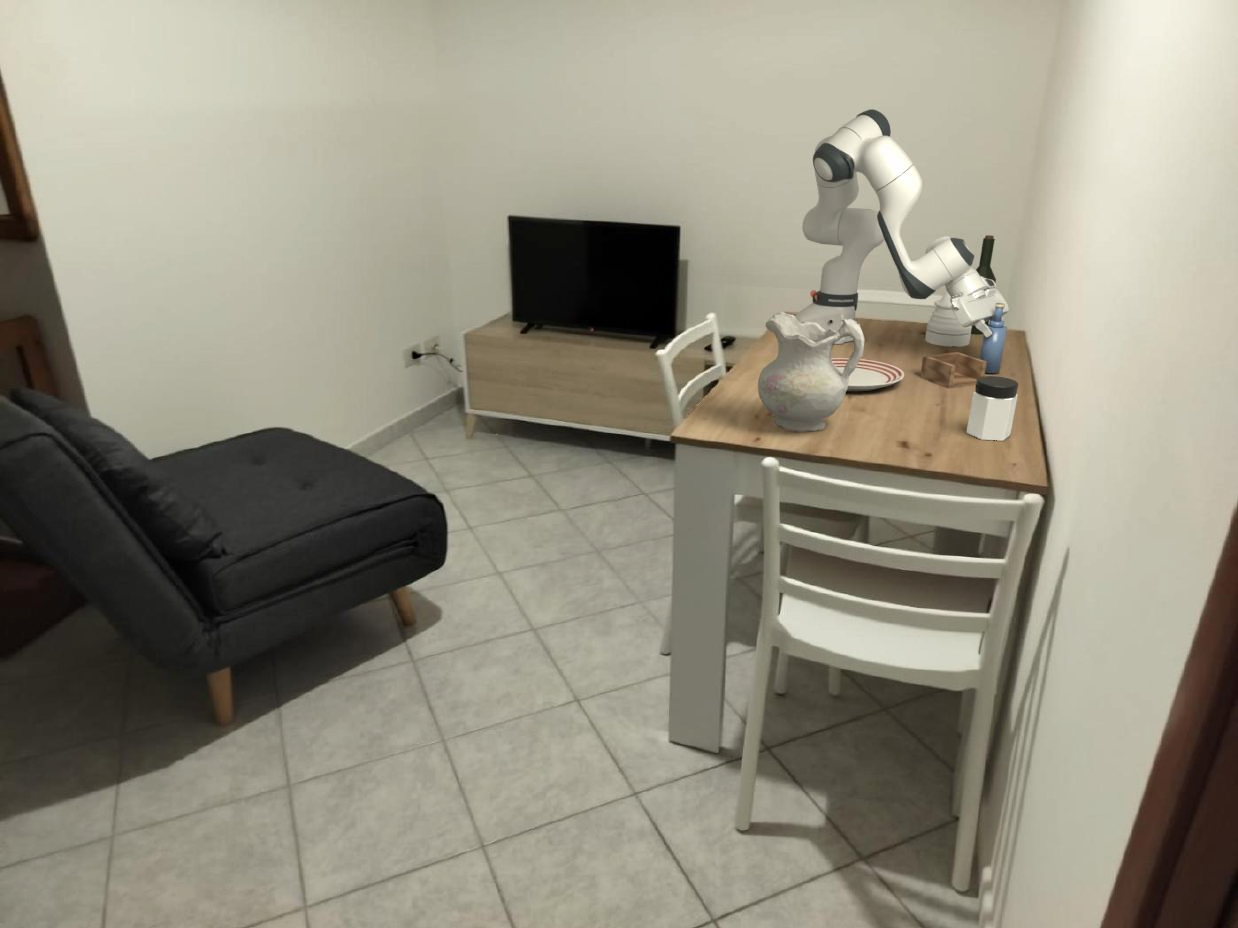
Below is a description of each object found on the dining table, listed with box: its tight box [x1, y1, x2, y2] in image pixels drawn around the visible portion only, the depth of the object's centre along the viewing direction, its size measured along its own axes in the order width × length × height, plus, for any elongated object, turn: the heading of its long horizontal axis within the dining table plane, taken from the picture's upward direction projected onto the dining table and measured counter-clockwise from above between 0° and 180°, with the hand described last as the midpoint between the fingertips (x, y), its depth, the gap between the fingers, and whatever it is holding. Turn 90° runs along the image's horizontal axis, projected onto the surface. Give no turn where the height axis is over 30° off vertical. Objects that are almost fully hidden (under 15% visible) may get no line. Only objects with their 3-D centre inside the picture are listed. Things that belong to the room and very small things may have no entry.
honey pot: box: [924, 291, 972, 347], centre depth 253 cm, size 13×13×18 cm
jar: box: [966, 375, 1019, 442], centre depth 178 cm, size 9×8×12 cm
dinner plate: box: [831, 357, 905, 392], centre depth 217 cm, size 27×27×3 cm
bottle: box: [979, 303, 1008, 374], centre depth 221 cm, size 5×5×18 cm
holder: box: [920, 351, 987, 389], centre depth 217 cm, size 10×11×6 cm
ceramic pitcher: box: [757, 311, 865, 433], centre depth 182 cm, size 22×20×25 cm
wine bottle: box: [971, 234, 997, 336], centre depth 262 cm, size 8×8×30 cm
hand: (997, 333), depth 220 cm, fingers closed on bottle, 5 cm apart
